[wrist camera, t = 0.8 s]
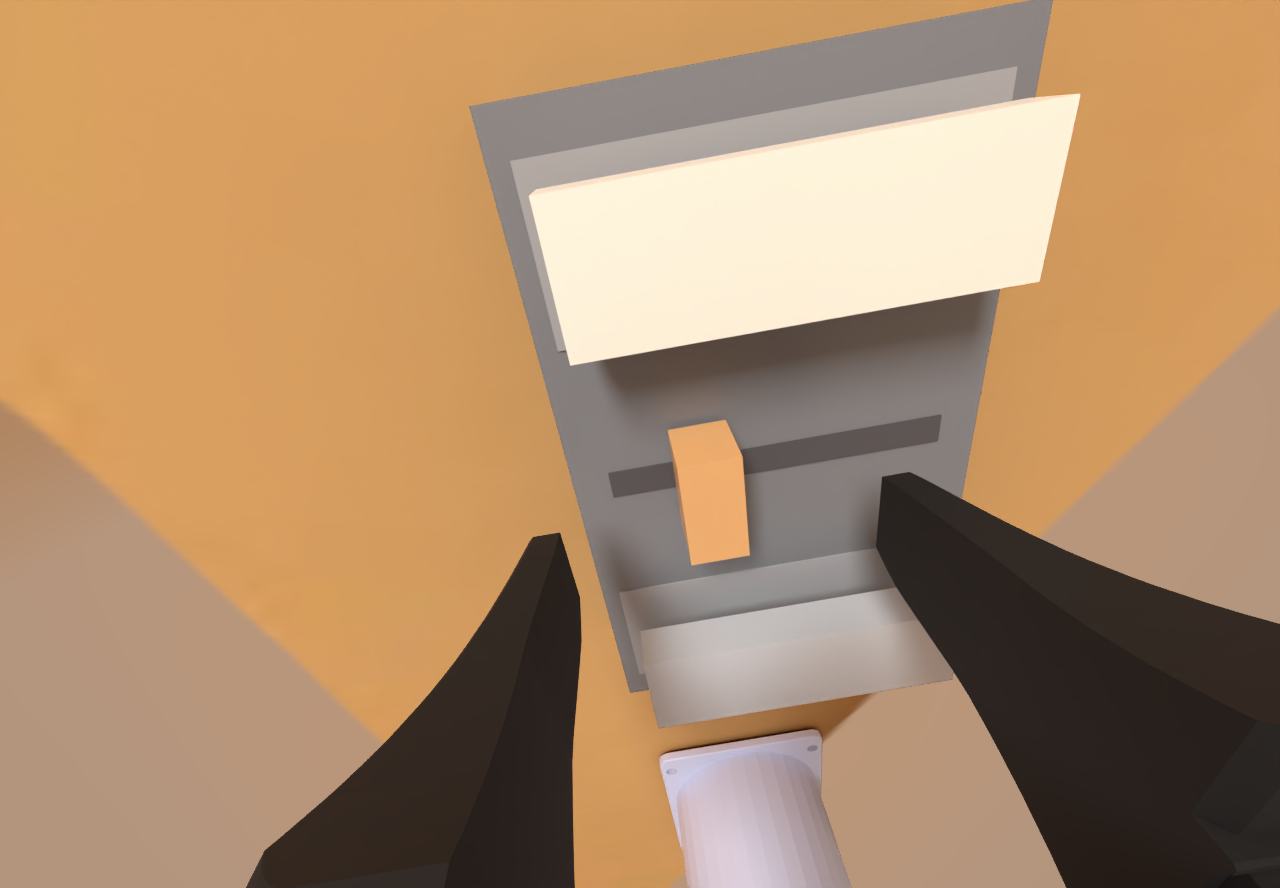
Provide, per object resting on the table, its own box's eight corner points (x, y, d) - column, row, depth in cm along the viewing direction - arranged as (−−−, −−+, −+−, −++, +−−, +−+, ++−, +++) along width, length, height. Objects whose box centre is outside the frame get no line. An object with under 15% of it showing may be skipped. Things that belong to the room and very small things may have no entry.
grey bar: (930, 646, 17) (952, 679, 16) (654, 692, 17) (658, 728, 16) (942, 579, 16) (967, 611, 15) (640, 631, 16) (643, 665, 15)
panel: (894, 580, 22) (935, 643, 19) (625, 626, 22) (630, 694, 19) (957, 25, 12) (1055, -5, 10) (494, 112, 13) (469, 106, 10)
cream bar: (997, 267, 11) (1039, 281, 10) (572, 344, 11) (570, 365, 10) (1027, 98, 10) (1080, 93, 9) (535, 189, 10) (528, 196, 9)
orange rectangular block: (733, 511, 15) (749, 555, 14) (681, 521, 15) (691, 565, 14) (725, 419, 14) (742, 456, 12) (667, 429, 14) (676, 467, 12)
